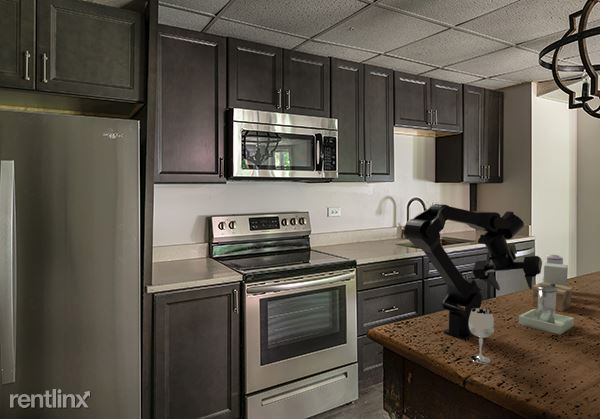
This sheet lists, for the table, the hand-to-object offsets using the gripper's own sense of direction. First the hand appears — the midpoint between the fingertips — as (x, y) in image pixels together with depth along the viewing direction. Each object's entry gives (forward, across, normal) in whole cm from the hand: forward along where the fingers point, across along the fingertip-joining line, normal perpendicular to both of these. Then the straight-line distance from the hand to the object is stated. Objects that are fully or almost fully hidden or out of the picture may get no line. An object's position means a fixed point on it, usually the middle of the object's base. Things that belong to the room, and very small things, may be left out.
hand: (514, 288), depth 121 cm
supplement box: (+29, -2, -29) cm, 41 cm away
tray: (+12, -6, +3) cm, 14 cm away
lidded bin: (+23, -3, -18) cm, 29 cm away
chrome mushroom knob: (+12, -6, +2) cm, 13 cm away
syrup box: (+34, +1, -38) cm, 51 cm away
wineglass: (-8, +1, +36) cm, 37 cm away
